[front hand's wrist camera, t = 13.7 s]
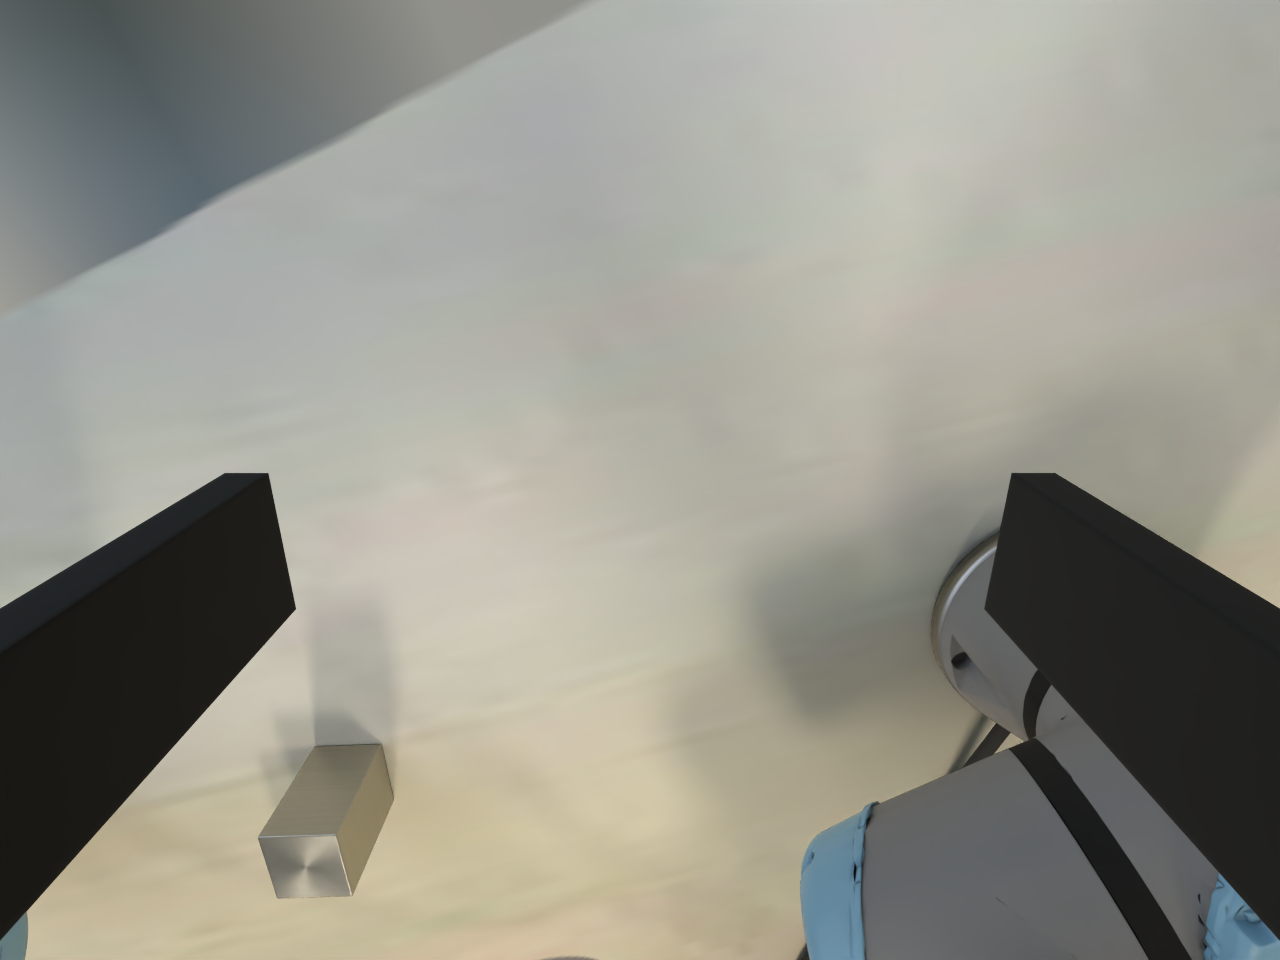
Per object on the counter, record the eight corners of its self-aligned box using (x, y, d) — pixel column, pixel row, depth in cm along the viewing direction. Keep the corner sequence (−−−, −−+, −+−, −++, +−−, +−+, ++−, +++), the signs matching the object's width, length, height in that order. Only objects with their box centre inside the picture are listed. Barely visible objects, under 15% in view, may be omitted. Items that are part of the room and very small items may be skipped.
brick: (382, 743, 50) (336, 834, 43) (394, 799, 52) (352, 896, 45) (314, 746, 51) (257, 837, 43) (329, 801, 52) (276, 899, 45)
